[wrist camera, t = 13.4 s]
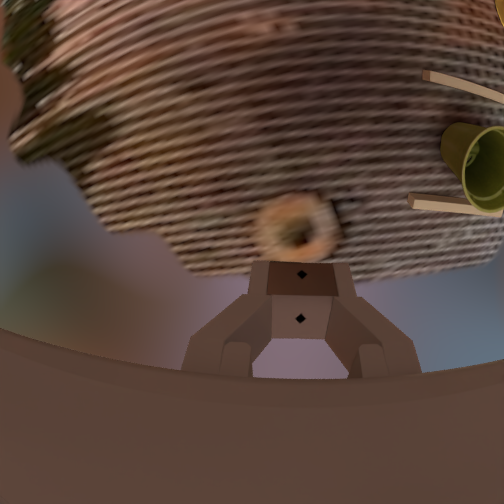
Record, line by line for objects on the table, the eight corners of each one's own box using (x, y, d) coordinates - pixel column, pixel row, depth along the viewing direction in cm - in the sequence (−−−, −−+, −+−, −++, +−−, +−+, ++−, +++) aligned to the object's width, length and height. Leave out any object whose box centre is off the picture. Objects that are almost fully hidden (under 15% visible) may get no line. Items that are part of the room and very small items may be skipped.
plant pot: (453, 195, 32) (486, 229, 25) (413, 143, 29) (447, 168, 22) (496, 150, 27) (536, 175, 20) (460, 93, 25) (503, 107, 17)
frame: (422, 69, 24) (430, 70, 22) (515, 100, 23) (524, 103, 21) (407, 201, 33) (412, 208, 32) (493, 210, 32) (501, 217, 30)
